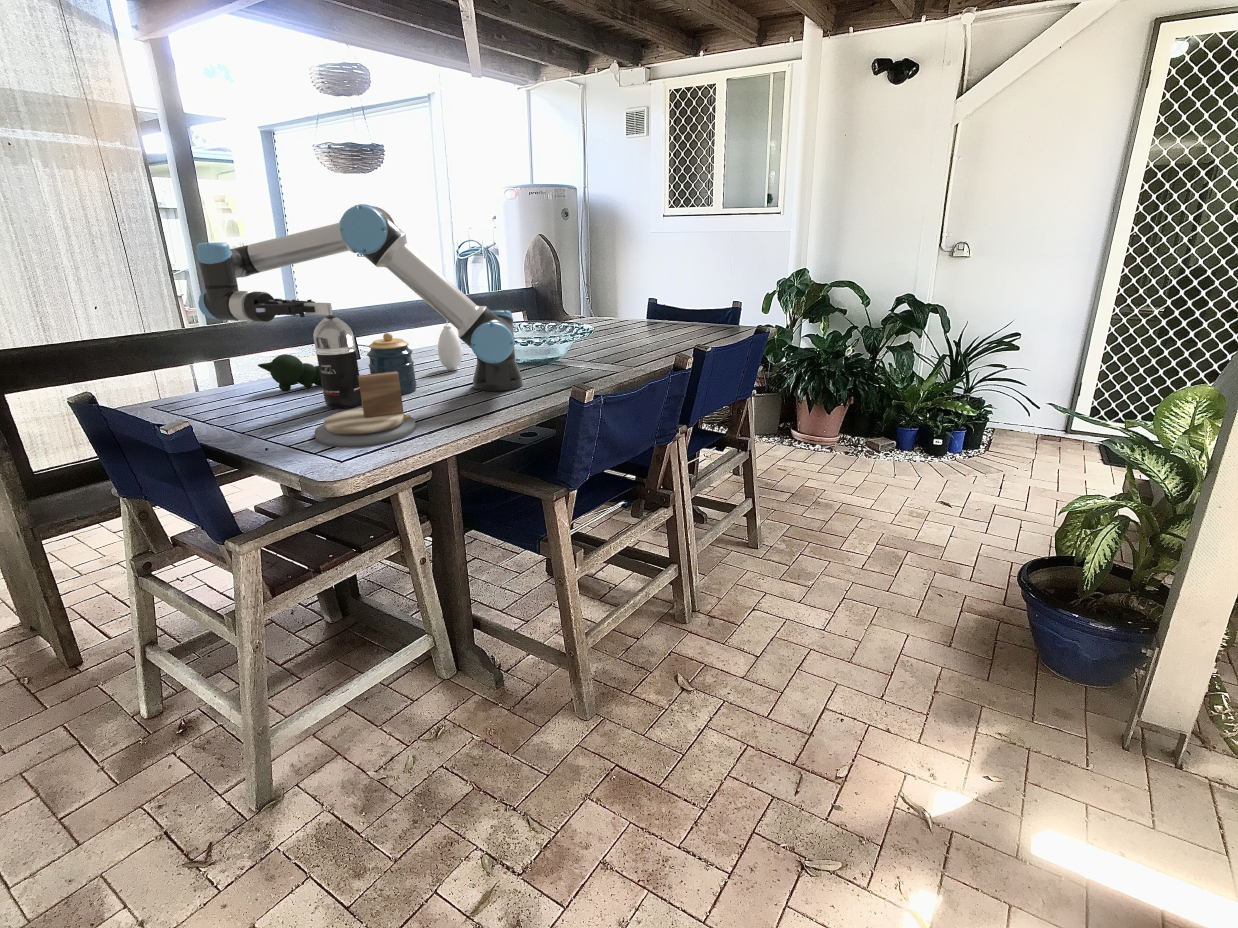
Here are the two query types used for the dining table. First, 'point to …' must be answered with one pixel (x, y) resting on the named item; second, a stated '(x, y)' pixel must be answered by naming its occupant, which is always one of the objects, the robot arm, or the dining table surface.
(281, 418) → the dining table surface
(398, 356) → the canister
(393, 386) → the dial
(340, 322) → the black chrome cylinder
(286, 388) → the toy figurine
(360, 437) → the base
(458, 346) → the white tall oval piece
